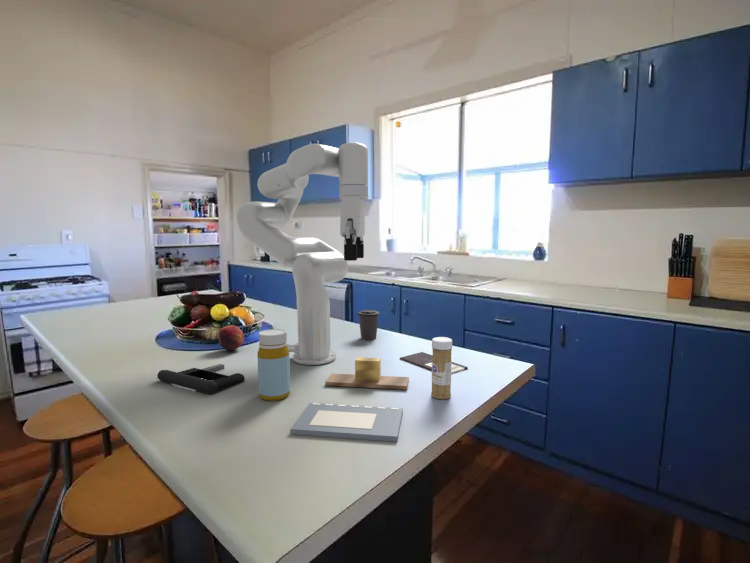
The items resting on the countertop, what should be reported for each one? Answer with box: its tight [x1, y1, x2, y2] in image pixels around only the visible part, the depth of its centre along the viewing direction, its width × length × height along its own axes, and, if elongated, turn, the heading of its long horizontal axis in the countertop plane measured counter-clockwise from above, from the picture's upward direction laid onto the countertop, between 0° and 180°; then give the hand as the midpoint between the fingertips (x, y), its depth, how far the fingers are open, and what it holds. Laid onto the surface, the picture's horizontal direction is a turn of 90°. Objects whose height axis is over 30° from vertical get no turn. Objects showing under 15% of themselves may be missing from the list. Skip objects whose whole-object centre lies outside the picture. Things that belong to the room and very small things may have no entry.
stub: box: [324, 356, 410, 391], centre depth 102 cm, size 20×6×6 cm, turn 81°
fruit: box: [218, 324, 245, 352], centre depth 131 cm, size 8×8×8 cm
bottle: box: [257, 328, 291, 402], centre depth 94 cm, size 7×7×15 cm
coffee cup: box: [356, 309, 381, 341], centre depth 145 cm, size 8×8×10 cm
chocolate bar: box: [399, 351, 469, 375], centre depth 117 cm, size 9×1×18 cm
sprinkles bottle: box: [430, 336, 453, 400], centre depth 93 cm, size 5×5×14 cm
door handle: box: [156, 363, 246, 395], centre depth 105 cm, size 3×20×16 cm
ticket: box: [289, 402, 404, 443], centre depth 81 cm, size 20×12×1 cm, turn 81°
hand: (354, 259), depth 109 cm, fingers open, 9 cm apart
